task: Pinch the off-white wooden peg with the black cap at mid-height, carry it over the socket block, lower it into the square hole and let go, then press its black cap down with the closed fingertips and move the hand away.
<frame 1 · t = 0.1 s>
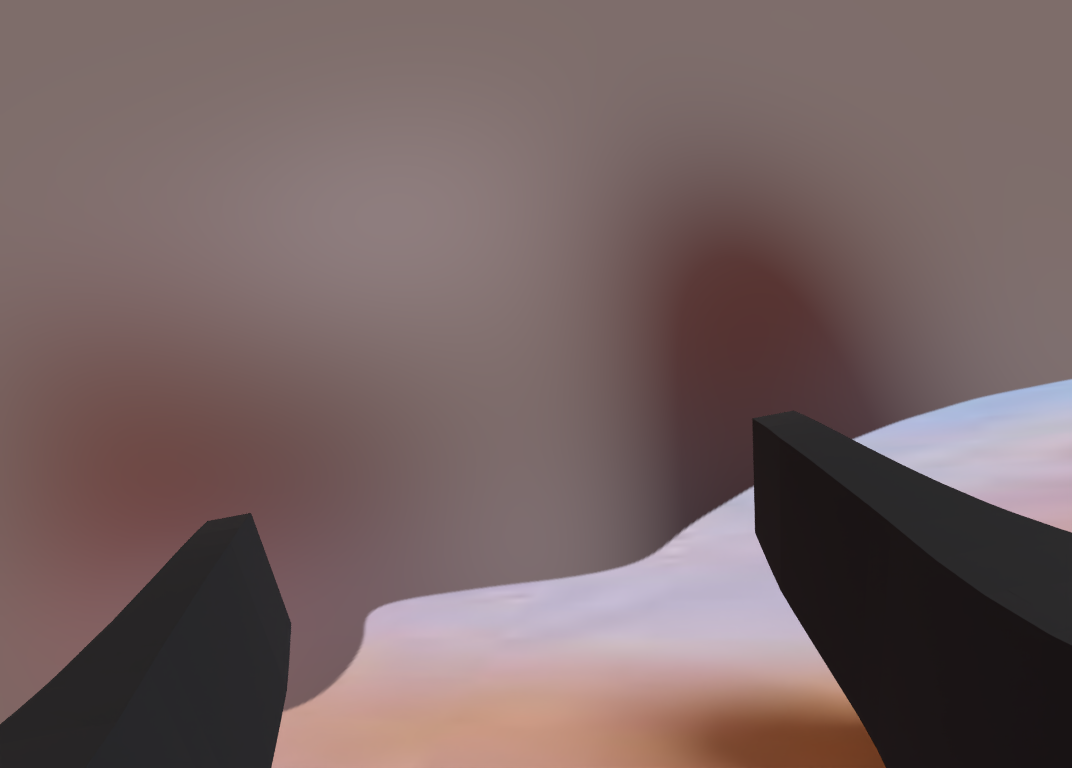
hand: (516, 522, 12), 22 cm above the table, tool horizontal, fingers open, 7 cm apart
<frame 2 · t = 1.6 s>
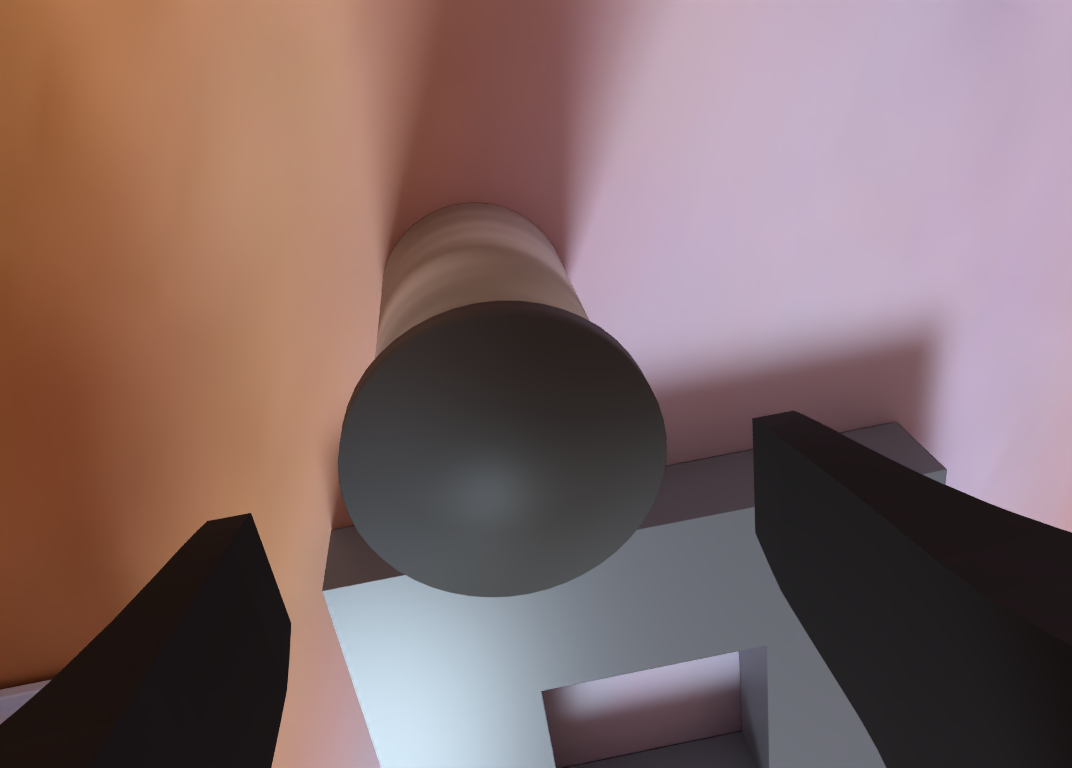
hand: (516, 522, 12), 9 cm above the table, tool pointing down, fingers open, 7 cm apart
capped peg: (474, 292, 20), on the table
socket block: (642, 682, 27), on the table
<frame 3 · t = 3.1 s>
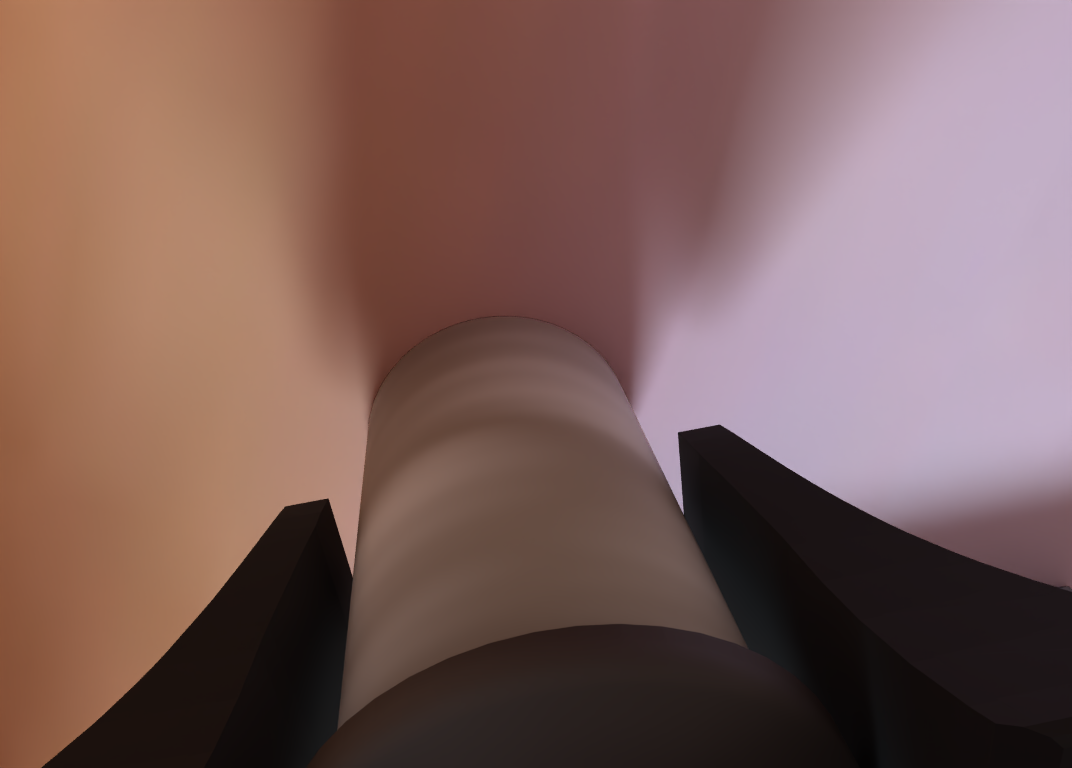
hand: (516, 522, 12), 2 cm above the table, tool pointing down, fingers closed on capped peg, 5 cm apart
capped peg: (500, 437, 14), on the table, touching gripper
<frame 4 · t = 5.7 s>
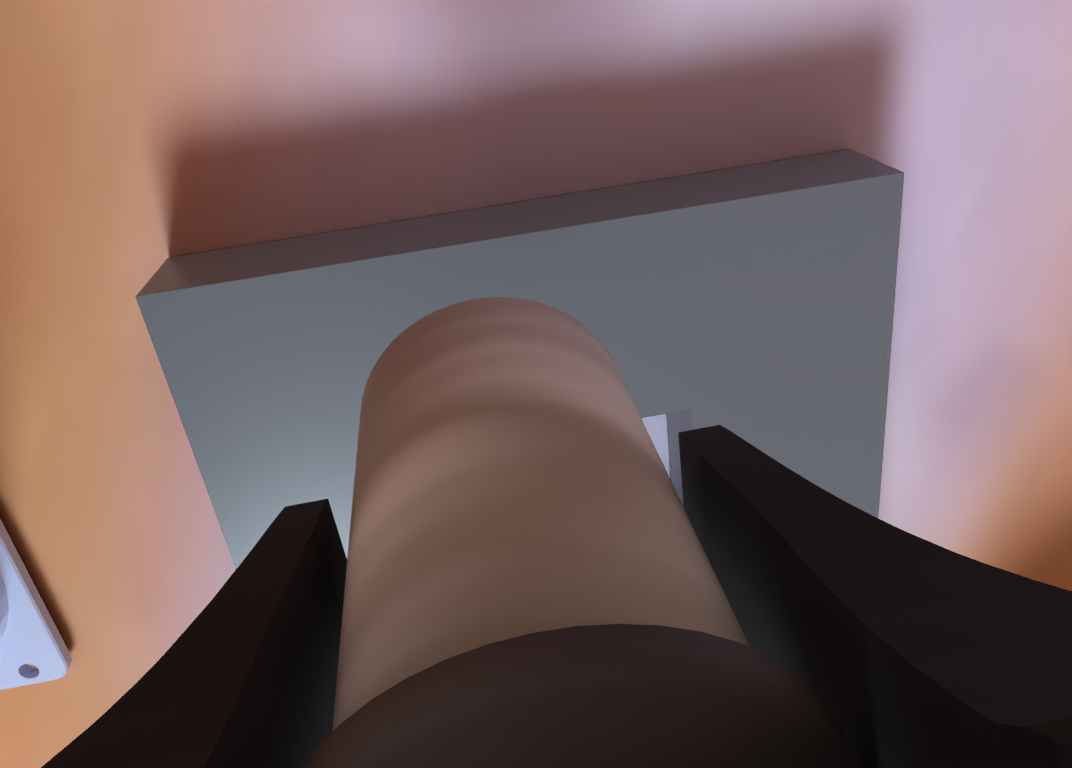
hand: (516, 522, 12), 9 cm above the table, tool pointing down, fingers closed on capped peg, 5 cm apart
capped peg: (494, 419, 14), point 7 cm above the table, touching gripper
socket block: (556, 486, 23), on the table
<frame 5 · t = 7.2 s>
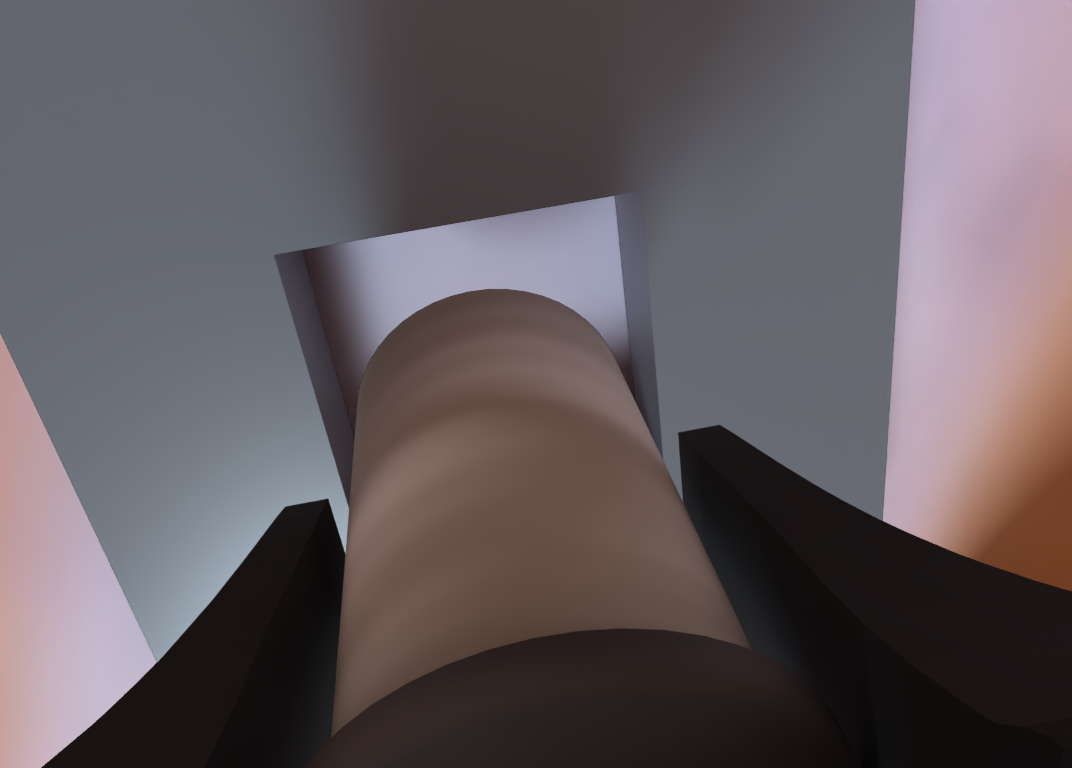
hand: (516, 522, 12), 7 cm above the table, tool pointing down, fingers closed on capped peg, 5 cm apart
capped peg: (492, 411, 14), point 4 cm above the table, touching gripper
socket block: (480, 334, 18), on the table
when the fingers open (3 cm above the table, at t = 8.5 s): capped peg stays where it is, resting in socket block.
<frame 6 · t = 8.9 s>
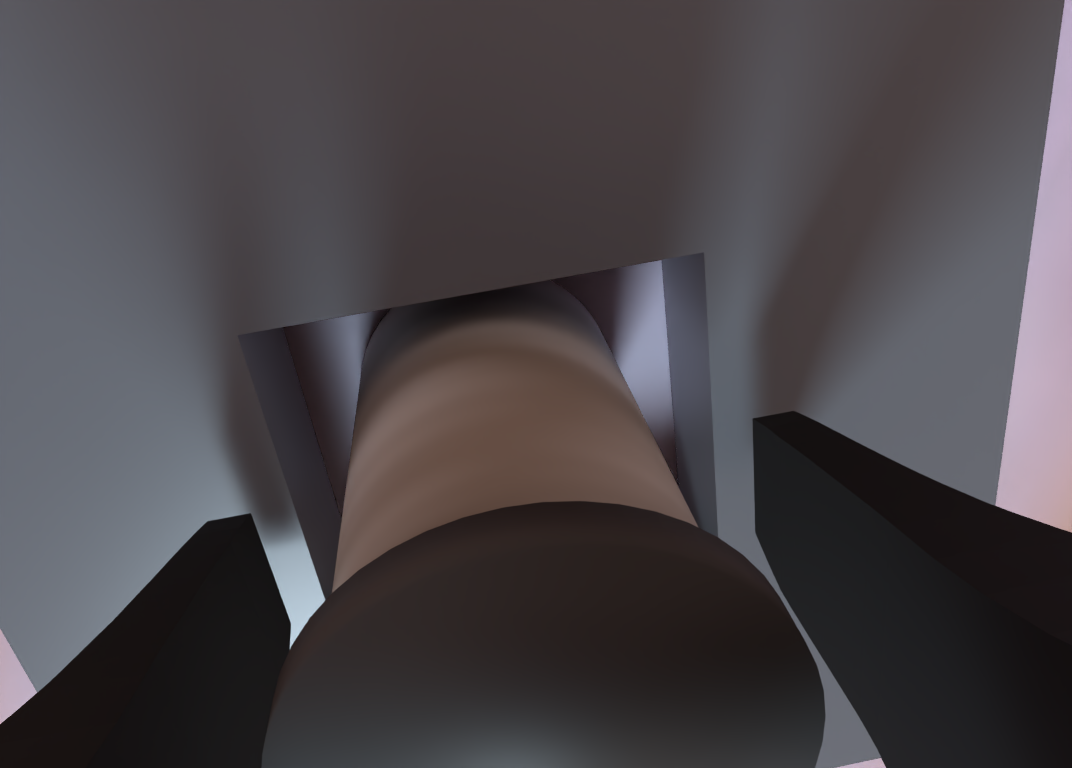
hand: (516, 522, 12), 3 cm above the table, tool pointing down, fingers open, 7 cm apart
capped peg: (488, 385, 15), resting in socket block
socket block: (496, 410, 15), on the table
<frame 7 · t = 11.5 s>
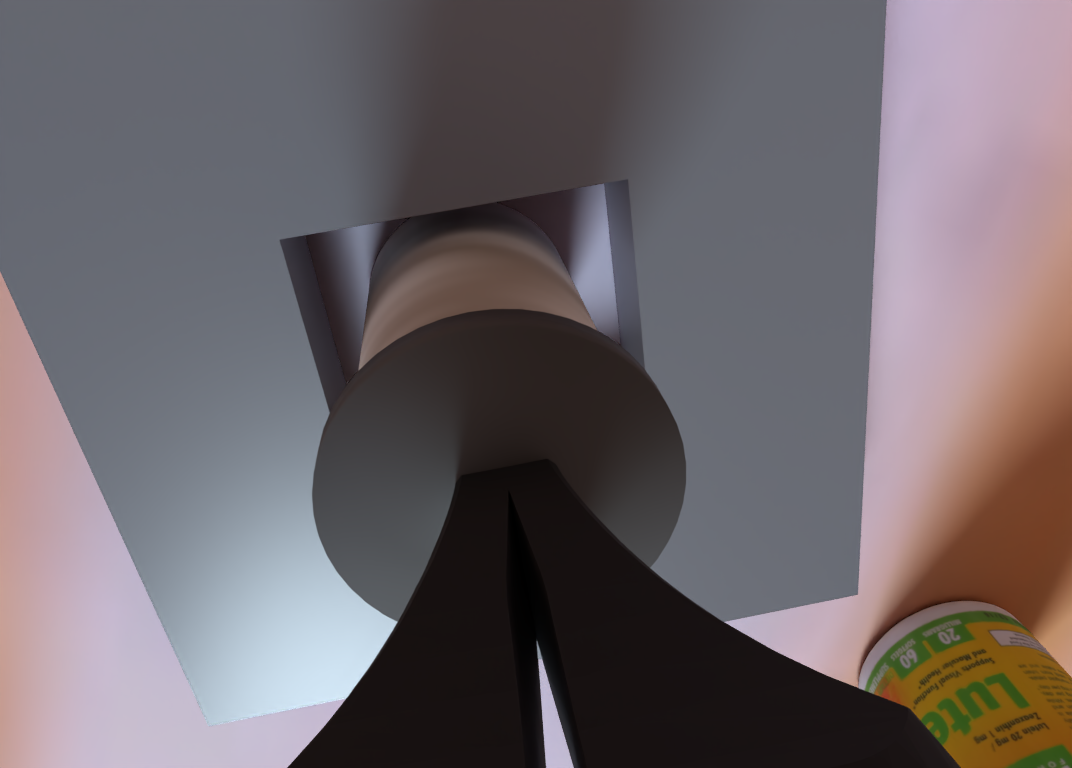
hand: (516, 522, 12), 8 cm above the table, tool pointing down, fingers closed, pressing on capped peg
capped peg: (469, 296, 19), resting in socket block, touching gripper
supplement bottle: (933, 658, 26), on the table
socket block: (476, 318, 19), on the table
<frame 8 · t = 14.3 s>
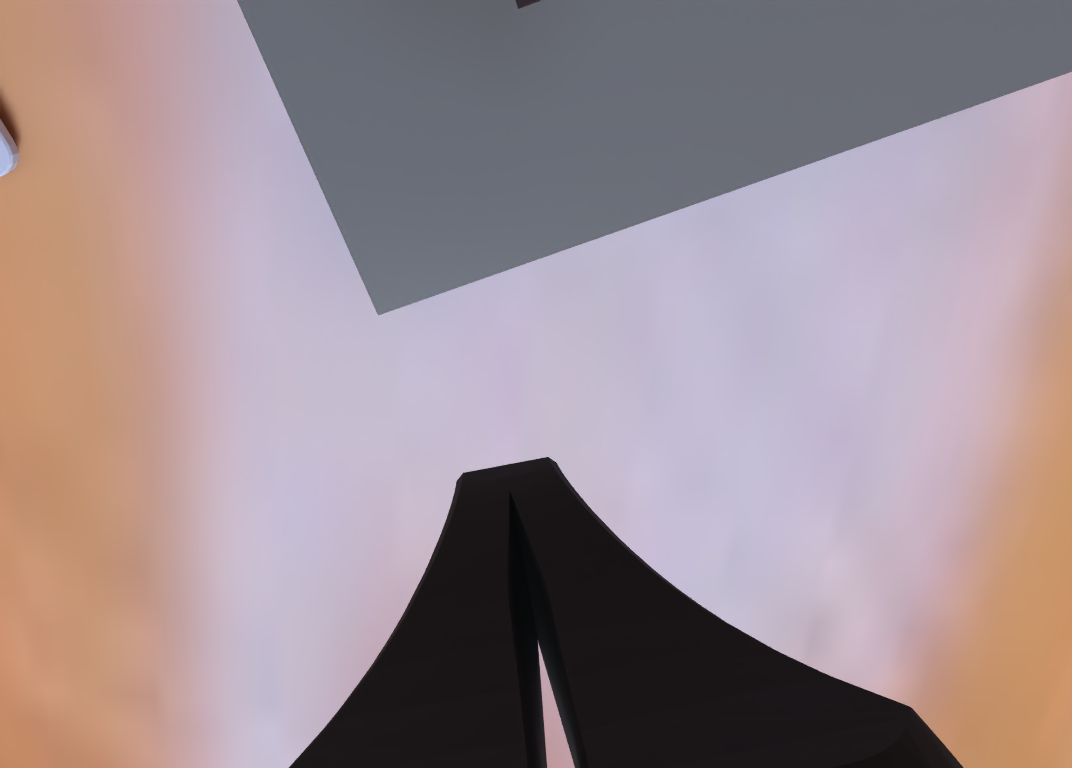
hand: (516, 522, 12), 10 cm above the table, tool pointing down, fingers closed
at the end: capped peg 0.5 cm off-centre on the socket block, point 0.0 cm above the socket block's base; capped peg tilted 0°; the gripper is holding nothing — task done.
